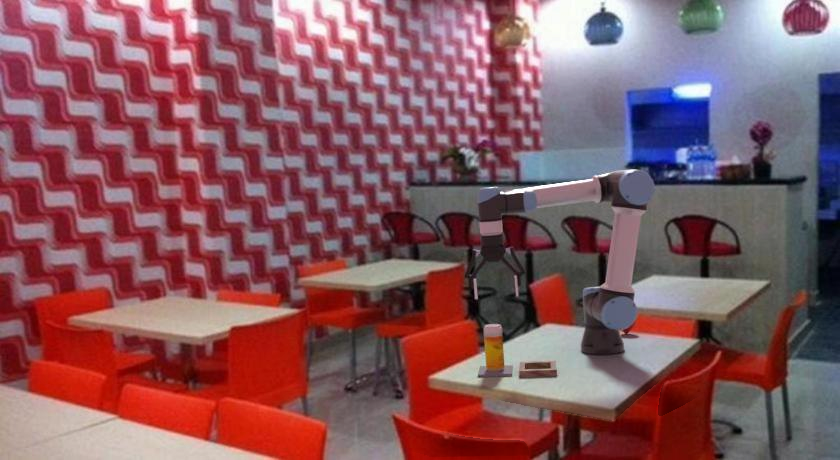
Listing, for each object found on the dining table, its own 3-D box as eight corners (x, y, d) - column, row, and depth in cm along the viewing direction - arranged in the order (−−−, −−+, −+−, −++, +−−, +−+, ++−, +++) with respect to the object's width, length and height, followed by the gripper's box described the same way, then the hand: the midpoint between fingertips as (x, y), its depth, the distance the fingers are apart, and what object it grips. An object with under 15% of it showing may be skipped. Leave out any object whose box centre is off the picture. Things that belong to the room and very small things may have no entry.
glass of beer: (503, 372, 254) (500, 326, 253) (485, 372, 255) (482, 327, 254) (505, 367, 260) (502, 323, 259) (487, 367, 261) (484, 323, 260)
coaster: (512, 367, 262) (512, 365, 262) (511, 376, 251) (511, 373, 251) (480, 368, 264) (480, 366, 264) (477, 377, 253) (477, 374, 253)
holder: (556, 366, 259) (555, 360, 259) (557, 375, 248) (556, 369, 247) (520, 367, 261) (519, 361, 261) (519, 377, 249) (519, 371, 249)
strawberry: (619, 331, 306) (618, 306, 305) (638, 332, 301) (637, 307, 301) (614, 334, 301) (613, 309, 300) (633, 335, 297) (632, 310, 296)
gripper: (529, 230, 258) (534, 292, 260) (455, 235, 262) (460, 297, 263) (529, 231, 251) (534, 296, 252) (453, 237, 254) (458, 301, 256)
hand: (496, 297), depth 258 cm, fingers open, 13 cm apart
